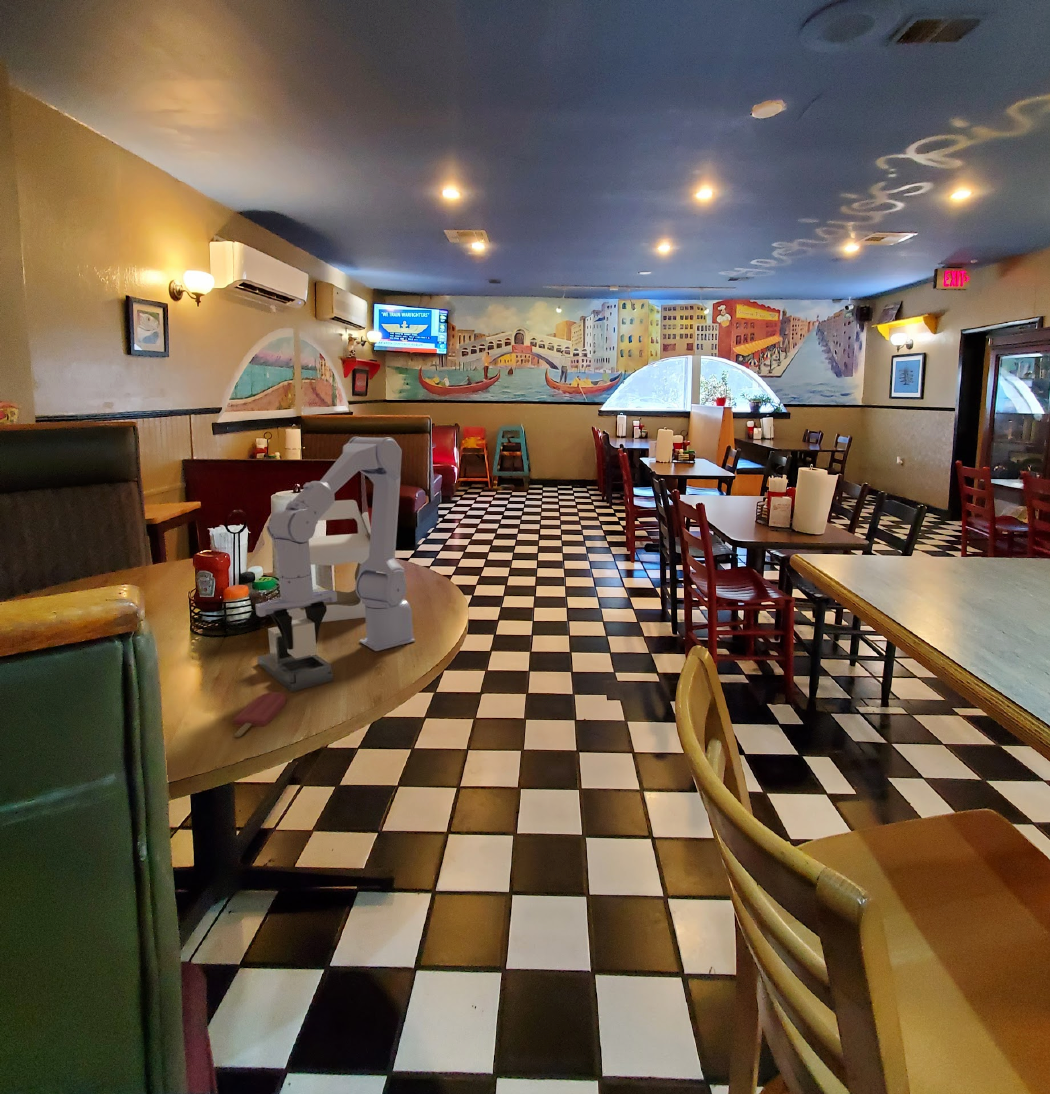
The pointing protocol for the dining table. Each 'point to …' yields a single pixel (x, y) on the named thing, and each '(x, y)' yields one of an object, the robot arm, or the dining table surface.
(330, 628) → the dining table surface
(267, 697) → the popsicle
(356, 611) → the gable box
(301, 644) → the block
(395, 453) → the robot arm
